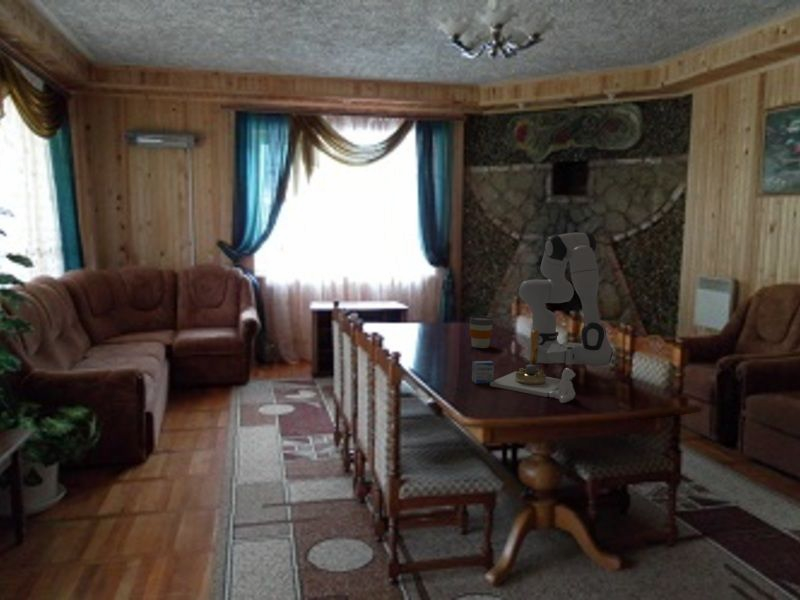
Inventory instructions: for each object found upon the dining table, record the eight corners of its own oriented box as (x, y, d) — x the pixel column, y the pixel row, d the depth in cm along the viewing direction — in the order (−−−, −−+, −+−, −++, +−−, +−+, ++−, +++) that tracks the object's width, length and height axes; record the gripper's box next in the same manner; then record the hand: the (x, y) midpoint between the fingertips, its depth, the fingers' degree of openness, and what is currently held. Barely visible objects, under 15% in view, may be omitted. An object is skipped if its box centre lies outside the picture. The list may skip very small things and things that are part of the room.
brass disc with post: (544, 386, 241) (547, 340, 238) (513, 383, 244) (516, 338, 242) (547, 373, 261) (550, 331, 259) (519, 371, 265) (521, 329, 262)
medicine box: (475, 384, 248) (476, 363, 247) (471, 381, 252) (472, 360, 251) (493, 383, 250) (494, 362, 249) (489, 380, 254) (490, 360, 253)
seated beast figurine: (546, 396, 233) (548, 365, 231) (565, 394, 236) (567, 364, 234) (561, 403, 224) (563, 371, 222) (581, 401, 227) (583, 370, 226)
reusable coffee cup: (486, 349, 316) (487, 321, 314) (464, 346, 322) (465, 318, 320) (495, 345, 326) (497, 318, 324) (474, 342, 333) (475, 315, 331)
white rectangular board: (515, 374, 265) (516, 356, 264) (569, 384, 251) (570, 365, 250) (489, 385, 246) (490, 366, 245) (546, 397, 232) (547, 376, 231)
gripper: (573, 341, 265) (541, 338, 269) (570, 350, 246) (535, 347, 250) (572, 355, 266) (540, 352, 270) (569, 366, 246) (534, 362, 251)
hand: (537, 350), depth 260 cm, fingers closed, pressing on brass disc with post
